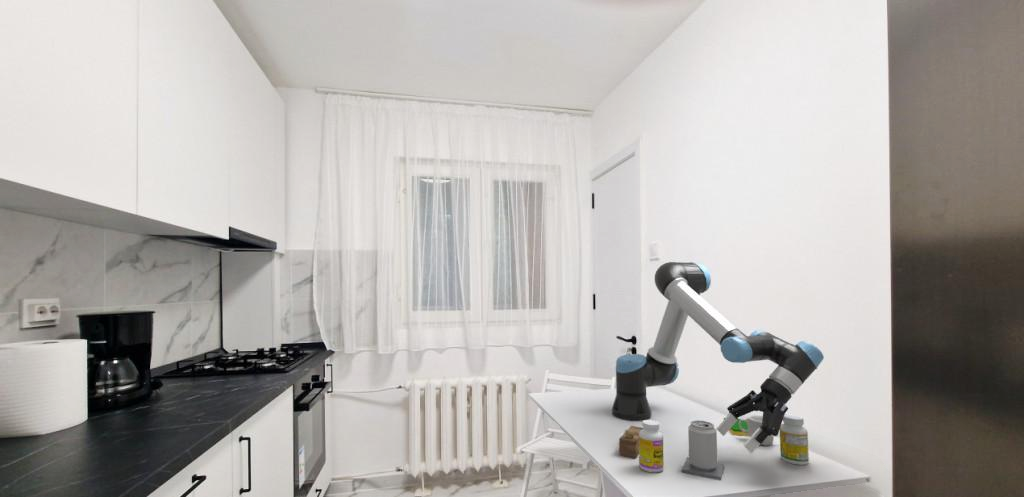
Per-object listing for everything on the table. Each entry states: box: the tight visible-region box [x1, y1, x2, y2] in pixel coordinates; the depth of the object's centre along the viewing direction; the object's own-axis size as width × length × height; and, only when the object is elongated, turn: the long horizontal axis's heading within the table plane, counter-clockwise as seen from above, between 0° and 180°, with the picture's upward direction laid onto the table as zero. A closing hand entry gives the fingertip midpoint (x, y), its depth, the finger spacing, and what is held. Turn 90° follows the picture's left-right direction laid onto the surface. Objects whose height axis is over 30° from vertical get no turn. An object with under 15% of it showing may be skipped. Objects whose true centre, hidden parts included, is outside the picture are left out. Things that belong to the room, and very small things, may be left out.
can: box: [688, 420, 718, 471], centre depth 126 cm, size 8×8×12 cm
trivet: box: [681, 456, 725, 481], centre depth 125 cm, size 10×10×1 cm
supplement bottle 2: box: [779, 413, 810, 466], centre depth 132 cm, size 7×7×13 cm
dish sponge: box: [723, 417, 750, 437], centre depth 160 cm, size 7×14×2 cm, turn 167°
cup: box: [739, 414, 775, 446], centre depth 147 cm, size 11×8×8 cm
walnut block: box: [618, 425, 643, 460], centre depth 140 cm, size 14×5×7 cm, turn 150°
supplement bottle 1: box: [638, 419, 664, 473], centre depth 126 cm, size 7×7×13 cm
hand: (732, 440), depth 126 cm, fingers open, 13 cm apart
